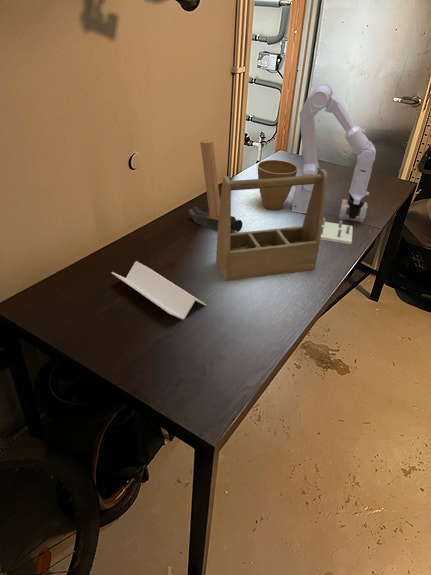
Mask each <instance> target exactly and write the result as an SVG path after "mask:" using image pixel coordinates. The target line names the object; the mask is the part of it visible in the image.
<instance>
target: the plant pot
mask: <svg viewBox="0 0 431 575" xmlns="http://www.w3.org/2000/svg"><path fill="white" fill-rule="evenodd" d="M298 169H299V168H298V166H297V165H295V163H292V162H289V161H284V160H280V159H267V160H263V161H260V162H259V163H258V164H257V179H273V178H284V177H295V176H297V173H298ZM292 187H293V186H284V187H273V188H260V189H259V193H260V198H261V203H262V206H263V208H265V209H267V210H271V211H272V210H273V211H278V210H280V209H282V208H283V206H284V205H285V202H286V200H287V199H288V197H289V194H290V193H291V190H292Z"/></svg>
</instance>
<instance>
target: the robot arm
mask: <svg viewBox="0 0 431 575" xmlns="http://www.w3.org/2000/svg"><path fill="white" fill-rule="evenodd" d="M322 110H324V112H326V113H330V114H332V115H334V117H335V119H336V120H337V121H338V123H339V124H340V125H341V127H342V129H343V130H344V131H345V137H344V138H345V140H346V141H347V143H348V144H349V146H350V148H351V149H352V151H353V152H354V153H355V154H356V155H357V156H356V160H357V162H356V165H355V167H354V171H353V175H352V179H351V184H350V188H349V189H348V194H349V195H348V196H349V199H347V200H348V204H349V218H351V219H355V218H356V216H357V214H358V212H359V210H360V209H361V207H362V206H363V205H364V202H365V201H364V202H363V201H361V200H362V199H364V197H365V196H370V192H369V191H368V190H367V189H368V185H369V181H370V179H371V174H372V170H373V168H372V167H373V164H374V162H375V161H376V153H377V151H376V150H377V149H376V147H375V145H374V144H373V143H372V142H373V141H370V140H369V139H368V137H367V135H366V130H365V129H364V128H361V126H357V125H355V124H354V122H353V121H352V119H351V117H350V115H349V114H348V112H347V110H346V109H345V107H344V105H343V103H342V101H341V100H340V98H339V97H338V94H336V92H334V91H333V88H332V87H331V86H330V85H328V84H327V83H321V84H319V85H317V86H316V88H315V89H313V91H311V93H310V94H309V95H308V96H307V97H306V100H305V102H304V103H303V106H302V108H301V110H300V112H299V122H300V123H299V124H300V135H301V137H300V138H301V145H302V146H301V148H302V155H303V156H302V157H303V158H302V159H303V170H302V171H303V172H302V176H306V175H317V172H318V170H319V169H321V168H320V164H319V161H318V151H317V150H318V149H317V138H316V137H317V136H316V124H315V123H316V122H315V116H316V115H318V113H319V112H320V111H322ZM313 186H314V184H308V185H297V186H294V187H295V188H294V193H293V198H292V202H291V210H290V211H291V212H292V213H300V214H305V215H306V212H307V208H308V205H309V201H310V198H311V194H312V190H313Z"/></svg>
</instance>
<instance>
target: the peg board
mask: <svg viewBox="0 0 431 575" xmlns="http://www.w3.org/2000/svg"><path fill="white" fill-rule="evenodd" d="M338 221H339V222H338V223H336V222H335V223H334V222H329V221H326V217H323V221H322V230H321V239H320V241H321V240H322V241H328V242H334V243H339V244H346V245H352V243H353V225H348V224H343V219H339V220H338Z"/></svg>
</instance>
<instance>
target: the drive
mask: <svg viewBox="0 0 431 575" xmlns="http://www.w3.org/2000/svg"><path fill="white" fill-rule="evenodd" d="M367 210H368V202H365V201H364V205H363V206H362V207H361V209H360V210H359V212H358V214H357V216H356V218H355V219H351V218H349V204H348V199H344V198H343V199H342V200H341V205H340V210H339V215H338V219H339V220H348V221H354V222H359V223H360V222H361V223H364V222H365V217H366V214H367Z"/></svg>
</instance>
